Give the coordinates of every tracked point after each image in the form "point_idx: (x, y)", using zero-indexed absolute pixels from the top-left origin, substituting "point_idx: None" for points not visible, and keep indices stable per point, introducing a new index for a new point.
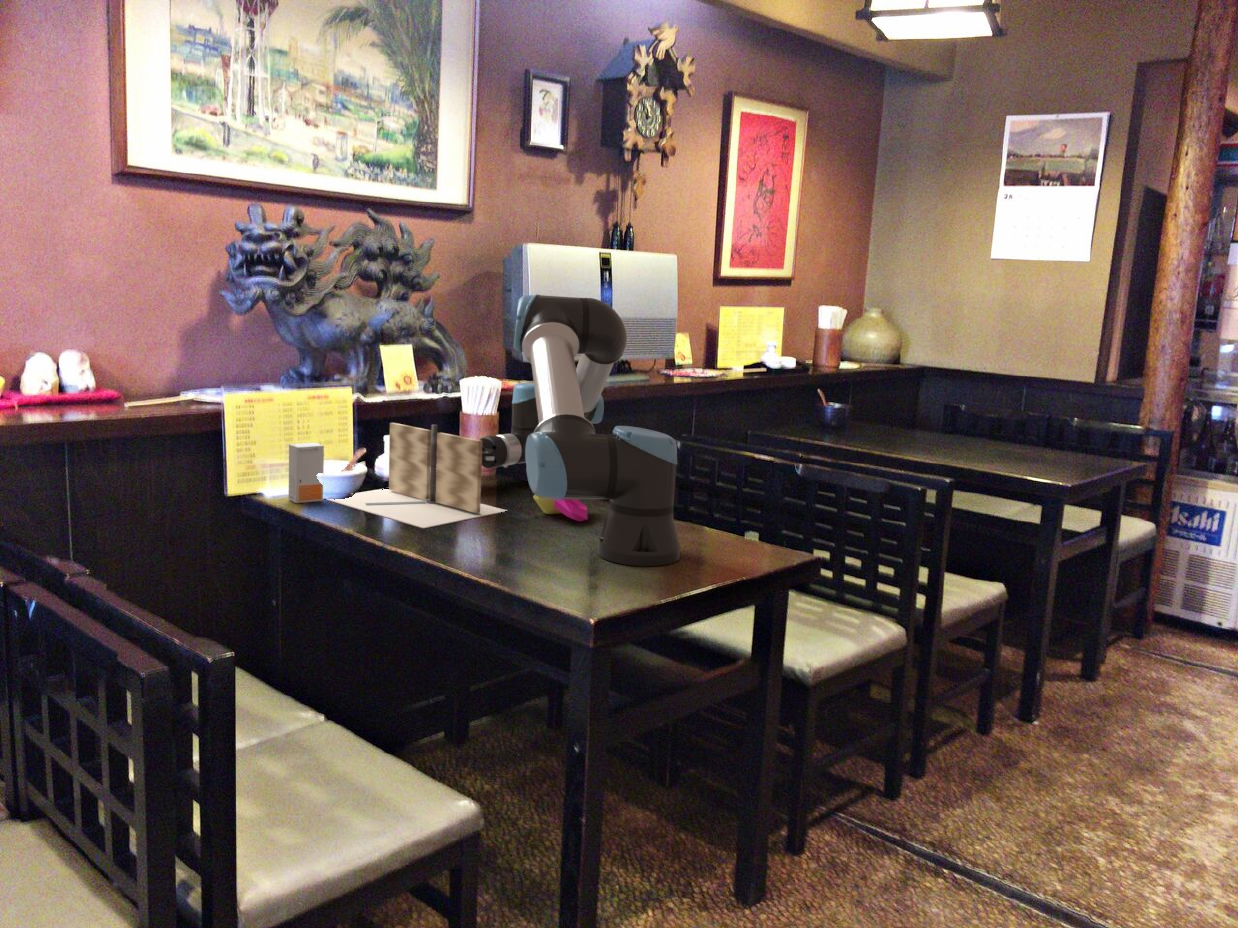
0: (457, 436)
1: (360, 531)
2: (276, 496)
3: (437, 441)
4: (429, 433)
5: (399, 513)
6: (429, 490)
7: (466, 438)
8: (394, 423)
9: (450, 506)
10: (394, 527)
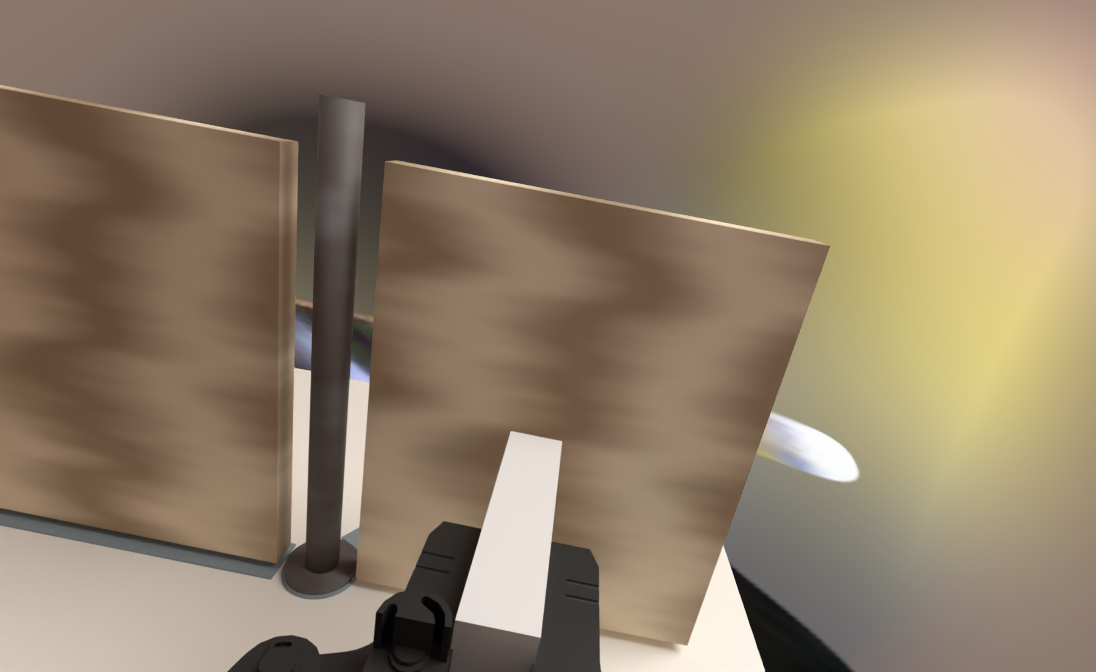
0: (97, 105)
1: (360, 323)
2: (780, 427)
3: (293, 203)
4: (389, 182)
5: (360, 411)
6: (360, 534)
7: (7, 87)
8: (785, 235)
9: (181, 544)
10: (300, 348)
